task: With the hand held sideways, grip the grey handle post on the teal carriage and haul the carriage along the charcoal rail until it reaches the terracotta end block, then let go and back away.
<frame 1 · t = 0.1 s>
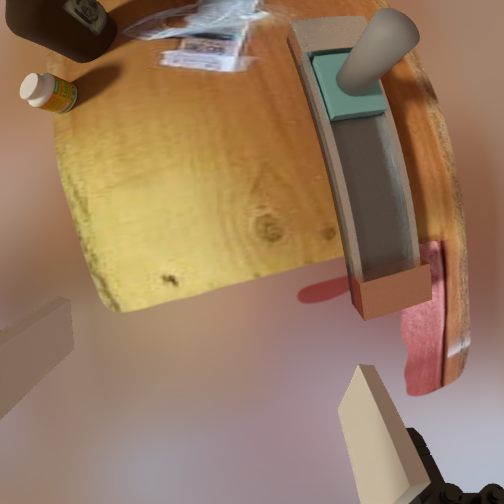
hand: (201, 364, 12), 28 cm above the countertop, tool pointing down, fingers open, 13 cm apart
supplement bottle: (66, 99, 36), on the countertop
rail track: (360, 160, 36), on the countertop
carriage: (366, 64, 23), point 11 cm above the countertop, slide at 0.0 cm
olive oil: (94, 40, 33), on the countertop
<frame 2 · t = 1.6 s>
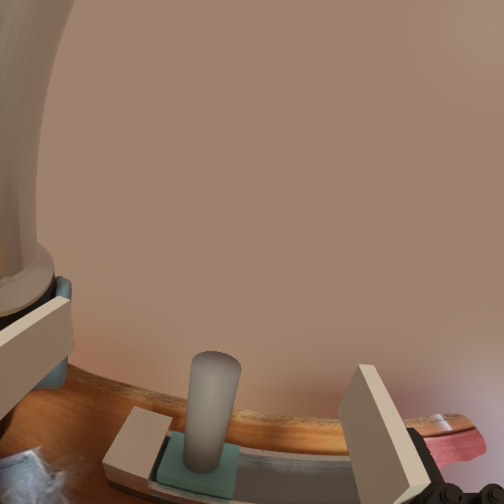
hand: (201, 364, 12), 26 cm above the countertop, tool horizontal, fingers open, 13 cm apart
rail track: (275, 493, 26), on the countertop
carriage: (205, 430, 24), point 11 cm above the countertop, slide at 0.0 cm
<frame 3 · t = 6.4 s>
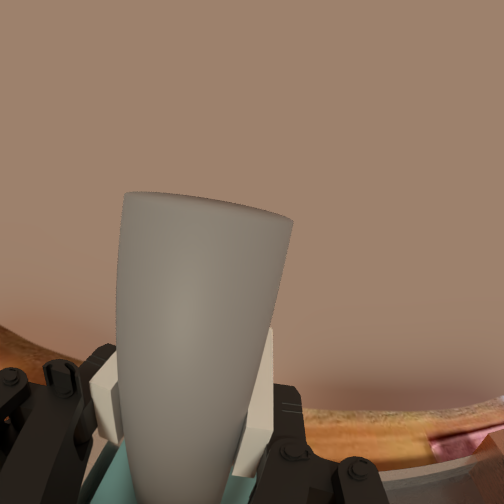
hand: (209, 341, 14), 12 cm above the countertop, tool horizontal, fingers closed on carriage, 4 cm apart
carriage: (179, 446, 9), point 11 cm above the countertop, slide at 0.0 cm, touching gripper
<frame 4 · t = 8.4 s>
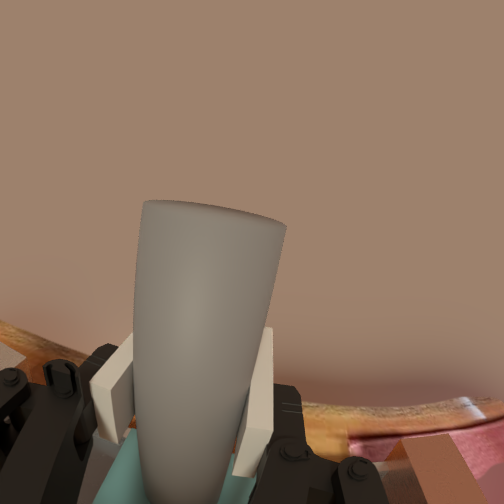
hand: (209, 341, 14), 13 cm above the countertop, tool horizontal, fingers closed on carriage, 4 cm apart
carriage: (186, 429, 10), point 11 cm above the countertop, slide at 9.4 cm, touching gripper
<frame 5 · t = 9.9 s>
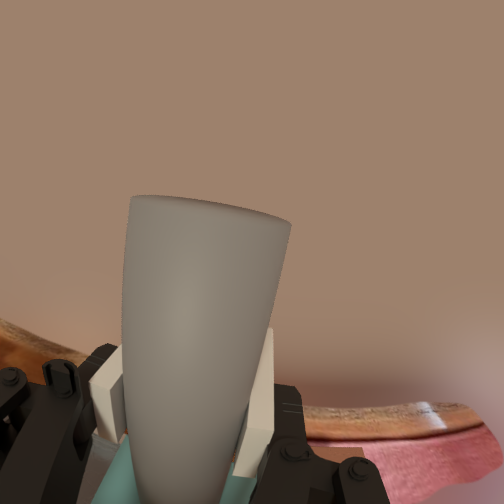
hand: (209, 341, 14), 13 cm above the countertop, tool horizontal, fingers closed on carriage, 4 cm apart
rail track: (61, 484, 11), on the countertop
carriage: (181, 441, 9), point 11 cm above the countertop, slide at 17.9 cm, touching gripper
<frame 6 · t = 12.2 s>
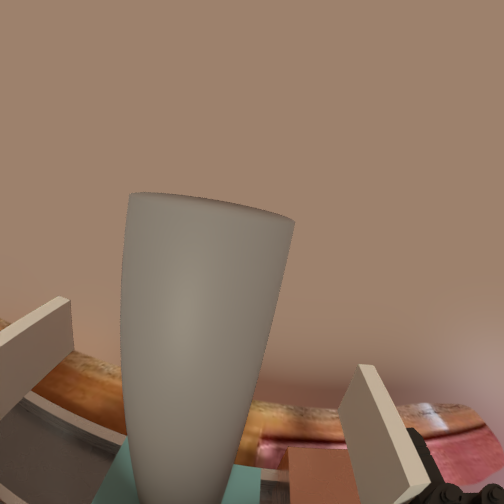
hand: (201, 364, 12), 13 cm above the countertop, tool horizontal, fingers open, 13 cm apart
rail track: (59, 484, 11), on the countertop
carriage: (182, 444, 9), point 11 cm above the countertop, slide at 18.1 cm
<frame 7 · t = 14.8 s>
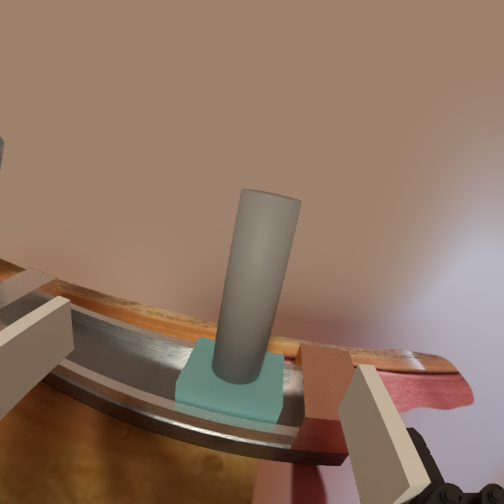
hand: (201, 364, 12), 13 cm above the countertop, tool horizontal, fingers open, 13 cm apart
rail track: (140, 385, 25), on the countertop
carriage: (247, 311, 21), point 11 cm above the countertop, slide at 18.1 cm
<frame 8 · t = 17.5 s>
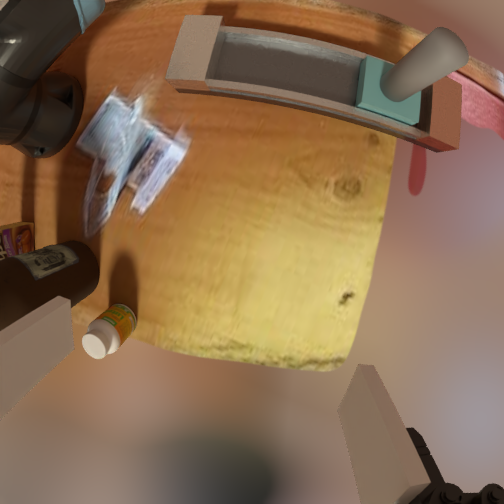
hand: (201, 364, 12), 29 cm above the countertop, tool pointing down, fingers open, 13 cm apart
supplement bottle: (123, 317, 44), on the countertop
rail track: (321, 81, 34), on the countertop
carriage: (412, 74, 24), point 11 cm above the countertop, slide at 18.1 cm
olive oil: (78, 268, 42), on the countertop
candy box: (29, 245, 42), on the countertop
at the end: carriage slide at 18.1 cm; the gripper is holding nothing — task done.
